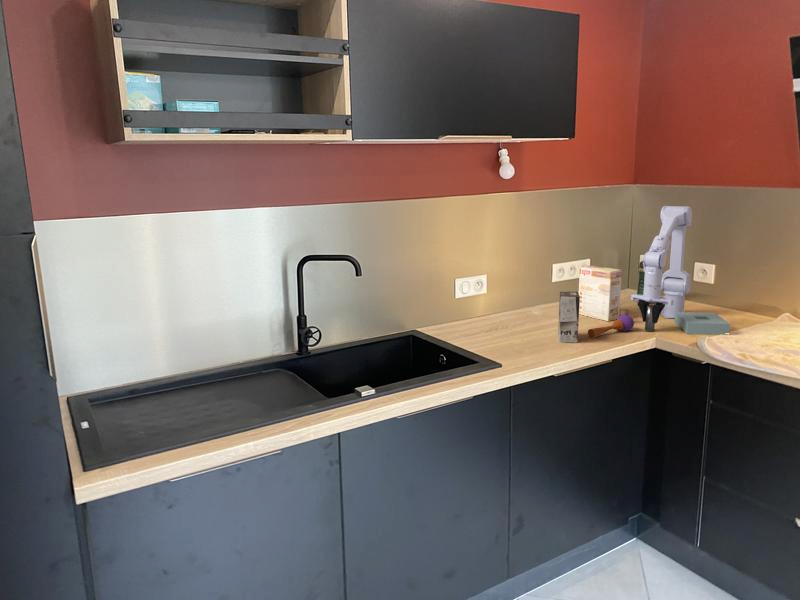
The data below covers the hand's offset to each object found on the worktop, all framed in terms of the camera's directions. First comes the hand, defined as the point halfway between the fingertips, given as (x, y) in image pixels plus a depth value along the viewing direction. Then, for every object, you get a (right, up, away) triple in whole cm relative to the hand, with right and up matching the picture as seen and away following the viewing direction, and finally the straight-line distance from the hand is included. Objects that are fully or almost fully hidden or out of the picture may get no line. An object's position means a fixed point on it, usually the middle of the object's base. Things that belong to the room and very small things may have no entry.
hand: (650, 322), depth 226 cm
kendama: (-15, -4, -1) cm, 15 cm away
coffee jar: (+17, +7, +45) cm, 49 cm away
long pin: (0, -3, +1) cm, 3 cm away
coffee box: (-32, -6, -7) cm, 33 cm away
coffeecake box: (-12, +1, +22) cm, 25 cm away
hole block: (+20, -2, +3) cm, 20 cm away
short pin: (-5, -1, +12) cm, 13 cm away
